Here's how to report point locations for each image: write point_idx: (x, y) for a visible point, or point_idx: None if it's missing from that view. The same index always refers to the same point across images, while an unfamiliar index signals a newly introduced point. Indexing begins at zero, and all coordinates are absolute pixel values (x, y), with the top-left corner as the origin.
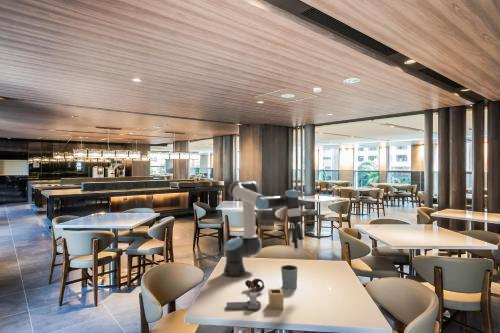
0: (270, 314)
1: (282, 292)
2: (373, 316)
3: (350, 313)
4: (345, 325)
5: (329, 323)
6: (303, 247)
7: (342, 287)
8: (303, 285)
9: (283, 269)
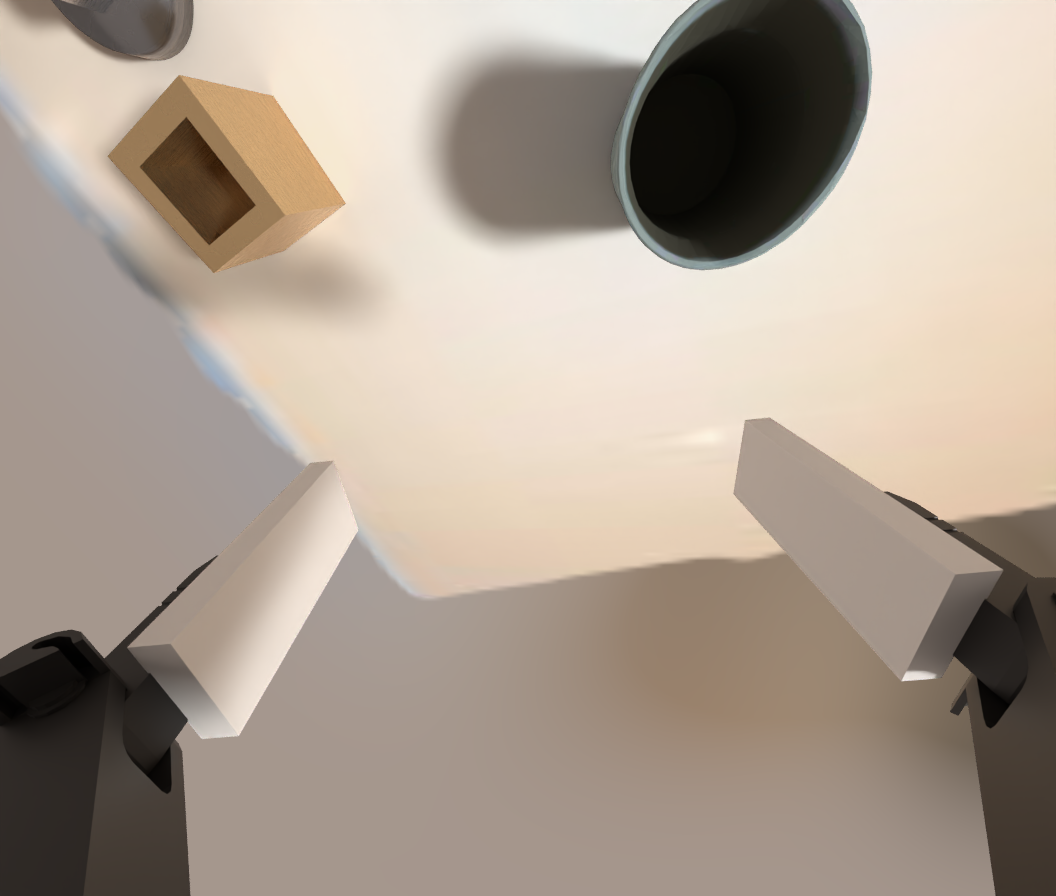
0: None
1: (230, 256)
2: (471, 578)
3: (452, 527)
4: None
5: None
6: (770, 529)
7: None
8: (731, 268)
9: (641, 75)
